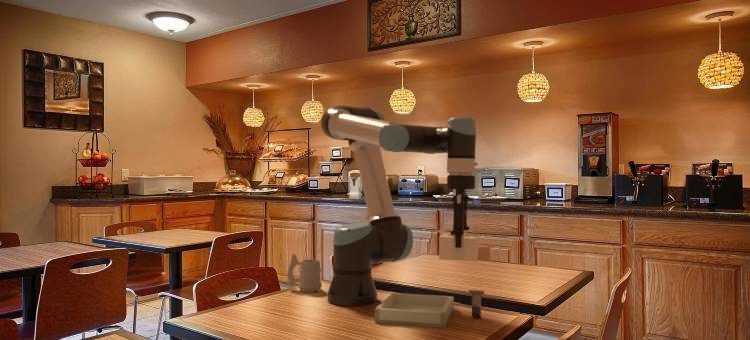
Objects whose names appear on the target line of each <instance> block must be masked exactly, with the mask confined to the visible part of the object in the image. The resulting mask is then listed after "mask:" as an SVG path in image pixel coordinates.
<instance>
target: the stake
mask: <svg viewBox="0 0 750 340" xmlns="http://www.w3.org/2000/svg"><path fill="white" fill-rule="evenodd" d="M468 294H471V318H472V317H473V318H472V319H474V318H480V319H482V295H485V290H482V289H481V290H479V289H478V290H477V289H468Z"/></svg>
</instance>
